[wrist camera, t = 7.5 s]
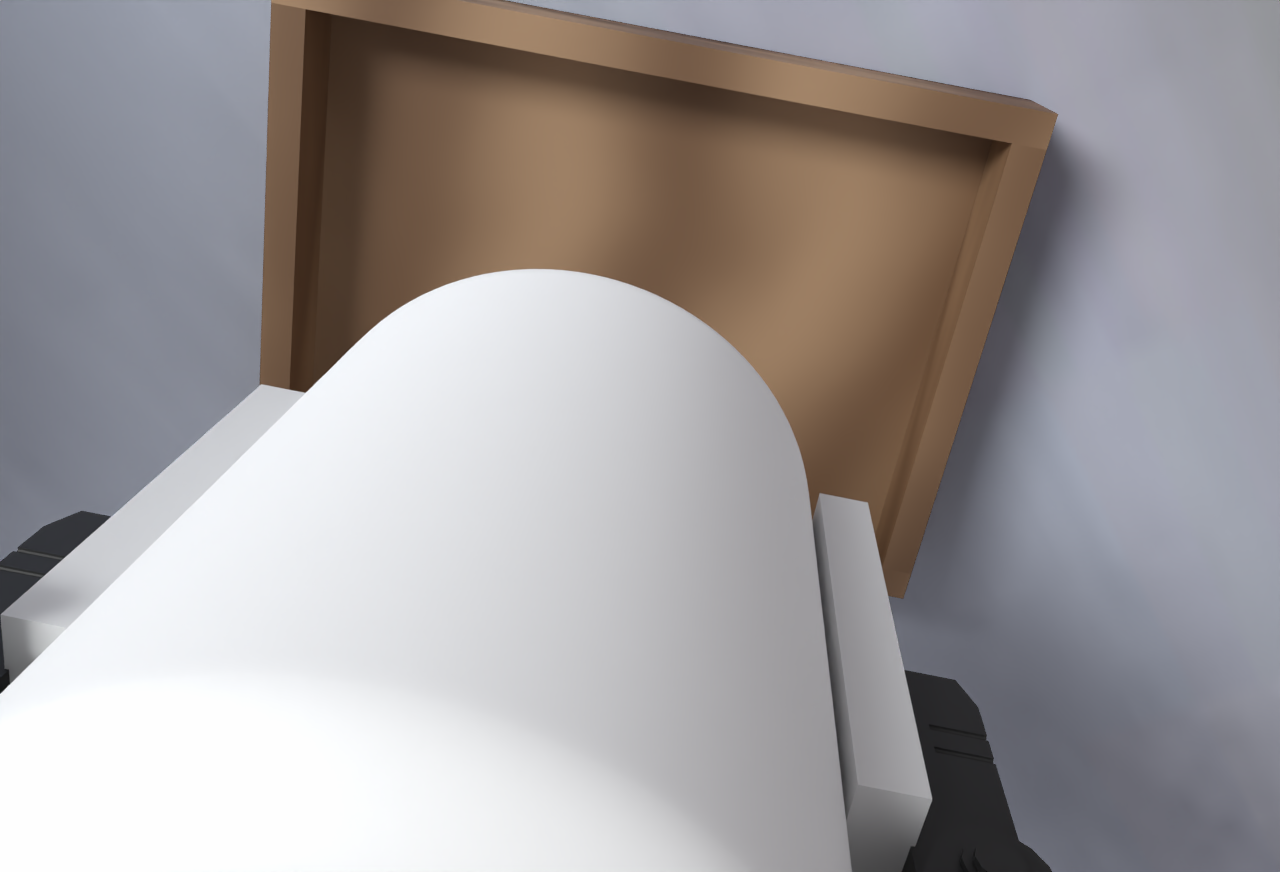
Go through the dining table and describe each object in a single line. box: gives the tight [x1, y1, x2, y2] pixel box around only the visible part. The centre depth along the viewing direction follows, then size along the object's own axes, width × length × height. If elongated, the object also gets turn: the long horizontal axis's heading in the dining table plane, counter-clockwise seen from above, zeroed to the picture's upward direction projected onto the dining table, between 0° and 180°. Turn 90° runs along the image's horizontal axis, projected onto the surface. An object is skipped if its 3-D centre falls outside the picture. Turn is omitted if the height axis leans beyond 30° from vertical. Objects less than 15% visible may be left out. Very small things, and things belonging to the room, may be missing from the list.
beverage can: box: [0, 269, 852, 872], centre depth 13 cm, size 8×8×12 cm
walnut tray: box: [260, 0, 1058, 599], centre depth 29 cm, size 18×13×3 cm
